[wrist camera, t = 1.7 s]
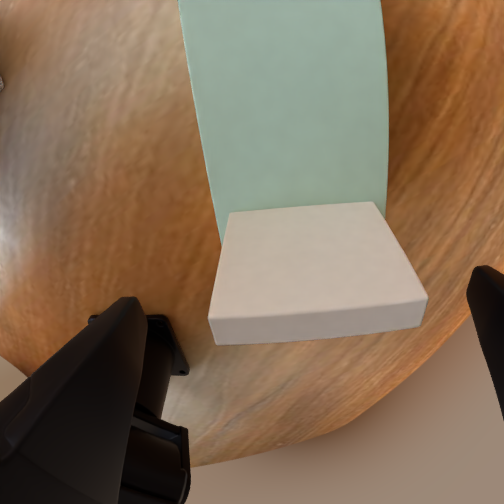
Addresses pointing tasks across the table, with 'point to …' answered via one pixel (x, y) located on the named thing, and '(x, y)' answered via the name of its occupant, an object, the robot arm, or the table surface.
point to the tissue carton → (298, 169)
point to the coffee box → (1, 83)
